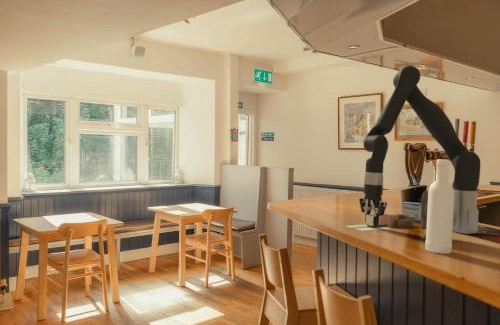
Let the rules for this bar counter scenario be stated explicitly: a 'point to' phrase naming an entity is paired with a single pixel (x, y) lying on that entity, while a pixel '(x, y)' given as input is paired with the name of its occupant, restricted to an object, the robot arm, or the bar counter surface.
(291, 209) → the bar counter surface
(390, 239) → the bar counter surface
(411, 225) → the shelf lane
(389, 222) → the pull block
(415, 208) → the medicine box
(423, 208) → the tabletop clock
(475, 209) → the robot arm
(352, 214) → the bar counter surface
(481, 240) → the bar counter surface
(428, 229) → the bottle
